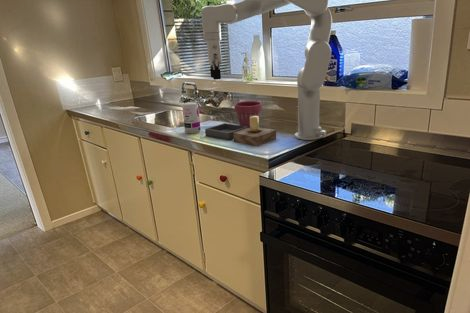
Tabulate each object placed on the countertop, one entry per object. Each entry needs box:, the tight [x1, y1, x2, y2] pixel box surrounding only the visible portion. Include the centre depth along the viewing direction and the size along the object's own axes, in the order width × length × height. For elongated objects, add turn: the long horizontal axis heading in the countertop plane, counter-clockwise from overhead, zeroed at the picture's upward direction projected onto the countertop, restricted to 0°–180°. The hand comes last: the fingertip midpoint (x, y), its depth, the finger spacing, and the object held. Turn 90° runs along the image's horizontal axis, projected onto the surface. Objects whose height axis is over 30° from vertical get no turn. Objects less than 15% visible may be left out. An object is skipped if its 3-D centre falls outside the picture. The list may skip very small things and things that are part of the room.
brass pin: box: [250, 116, 260, 134], centre depth 159 cm, size 4×4×11 cm
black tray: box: [204, 122, 248, 141], centre depth 172 cm, size 16×14×4 cm
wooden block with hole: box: [232, 126, 277, 147], centre depth 160 cm, size 14×14×4 cm
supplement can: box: [181, 101, 201, 134], centre depth 180 cm, size 8×8×15 cm
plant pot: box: [234, 100, 263, 128], centre depth 182 cm, size 14×14×13 cm
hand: (215, 78), depth 153 cm, fingers open, 9 cm apart
